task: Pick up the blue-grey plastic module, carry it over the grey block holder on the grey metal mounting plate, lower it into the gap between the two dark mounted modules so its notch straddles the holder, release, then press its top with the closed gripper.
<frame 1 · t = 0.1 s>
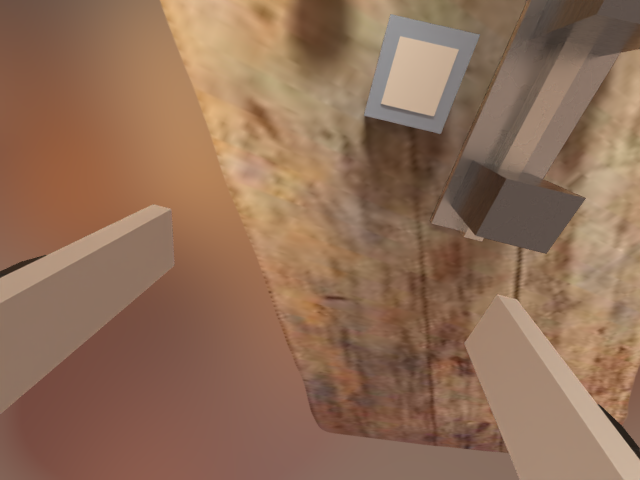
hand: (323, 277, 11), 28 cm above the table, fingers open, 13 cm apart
grey block holder: (526, 112, 31), on the table
module: (404, 84, 31), on the table
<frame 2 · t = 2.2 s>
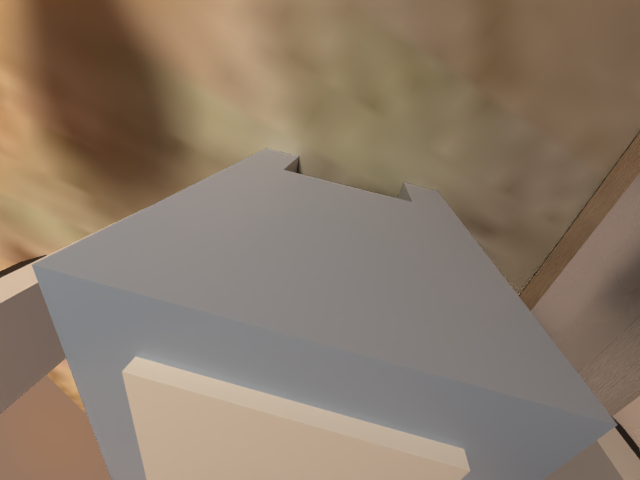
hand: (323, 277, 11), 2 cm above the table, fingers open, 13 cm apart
grey block holder: (628, 324, 12), on the table
module: (330, 246, 13), on the table
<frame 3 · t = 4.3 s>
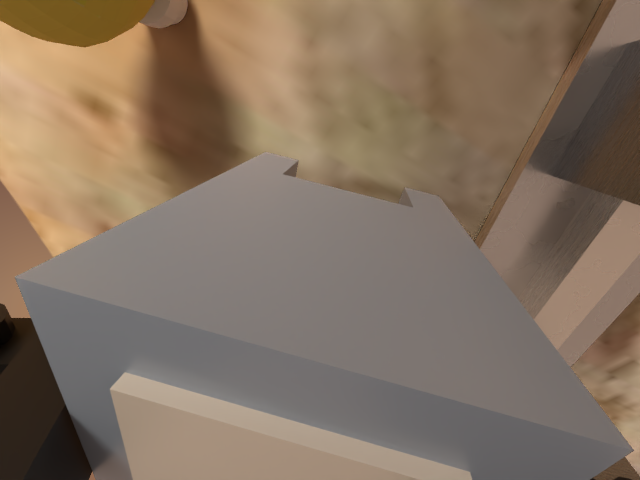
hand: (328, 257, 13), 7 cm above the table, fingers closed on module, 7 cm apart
grey block holder: (541, 273, 18), on the table
module: (330, 251, 13), point 6 cm above the table, touching gripper
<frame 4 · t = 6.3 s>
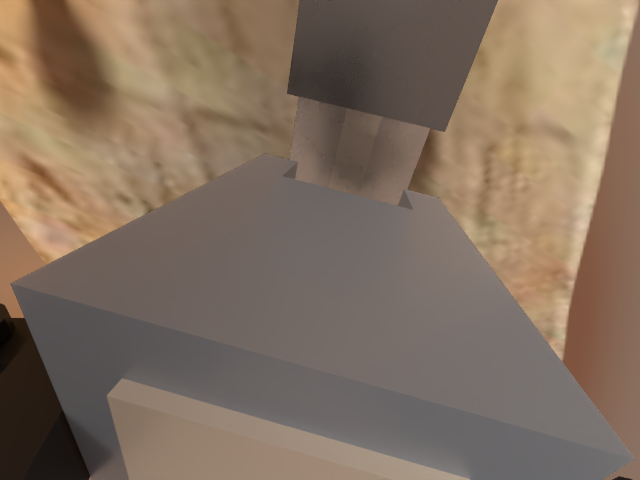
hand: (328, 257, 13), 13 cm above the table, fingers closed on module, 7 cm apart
grey block holder: (345, 182, 24), on the table
module: (329, 253, 13), point 13 cm above the table, touching gripper
when the fingers open (3 cm above the table, at t = 8.8 s): module drops 1 cm, resting on grey block holder.
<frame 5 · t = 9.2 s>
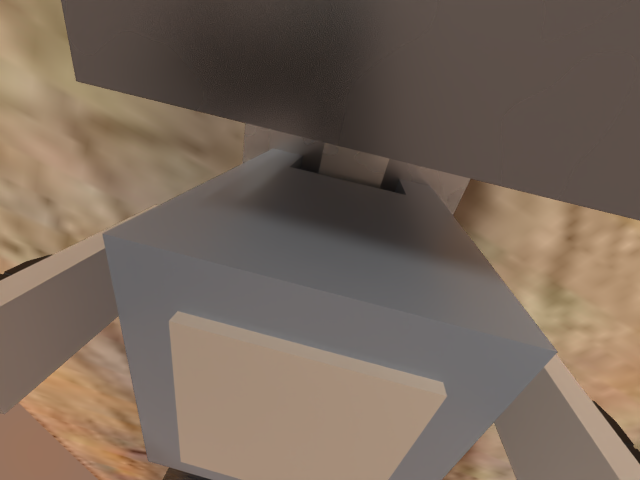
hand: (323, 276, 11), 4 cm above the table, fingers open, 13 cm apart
grey block holder: (334, 233, 15), on the table
module: (332, 239, 14), point 1 cm above the table, touching grey block holder
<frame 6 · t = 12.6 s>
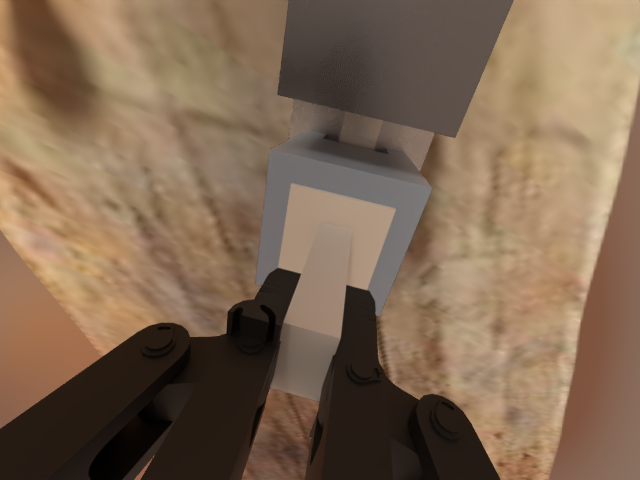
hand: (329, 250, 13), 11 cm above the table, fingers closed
grey block holder: (344, 188, 22), on the table
module: (344, 190, 21), point 1 cm above the table, touching grey block holder, gripper
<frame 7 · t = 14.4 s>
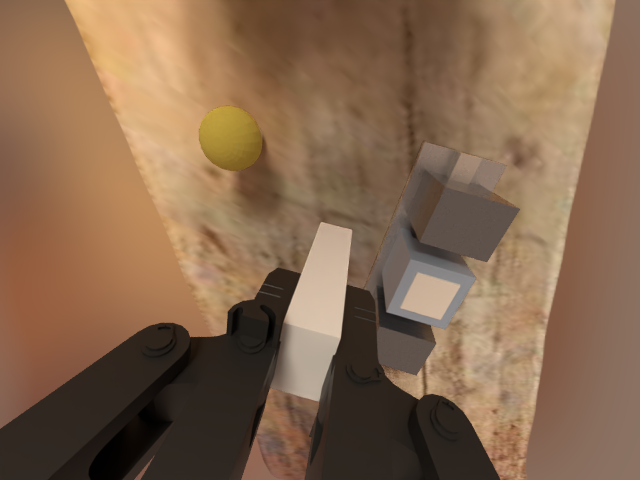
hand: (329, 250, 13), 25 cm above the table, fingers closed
light bulb: (254, 135, 36), on the table
grey block holder: (413, 255, 40), on the table
module: (415, 258, 39), point 1 cm above the table, touching grey block holder
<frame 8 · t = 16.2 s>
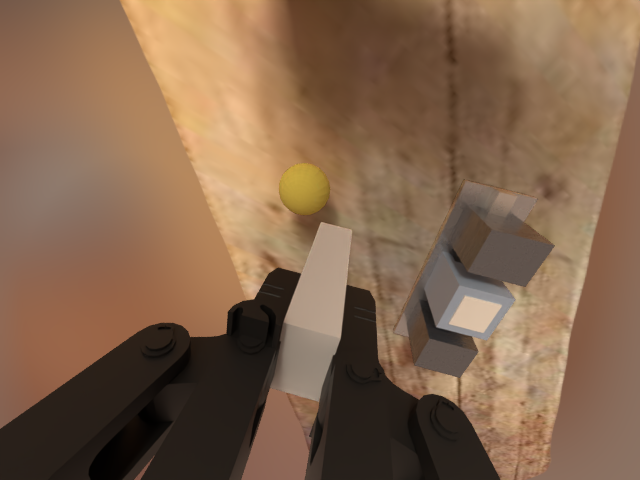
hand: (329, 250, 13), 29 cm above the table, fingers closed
light bulb: (313, 176, 42), on the table
grey block holder: (452, 273, 45), on the table
module: (454, 276, 44), point 1 cm above the table, touching grey block holder
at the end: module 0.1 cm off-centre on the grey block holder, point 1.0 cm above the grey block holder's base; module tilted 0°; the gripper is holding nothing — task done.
